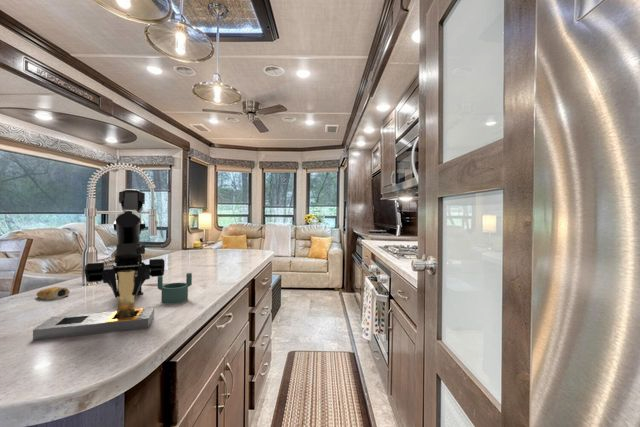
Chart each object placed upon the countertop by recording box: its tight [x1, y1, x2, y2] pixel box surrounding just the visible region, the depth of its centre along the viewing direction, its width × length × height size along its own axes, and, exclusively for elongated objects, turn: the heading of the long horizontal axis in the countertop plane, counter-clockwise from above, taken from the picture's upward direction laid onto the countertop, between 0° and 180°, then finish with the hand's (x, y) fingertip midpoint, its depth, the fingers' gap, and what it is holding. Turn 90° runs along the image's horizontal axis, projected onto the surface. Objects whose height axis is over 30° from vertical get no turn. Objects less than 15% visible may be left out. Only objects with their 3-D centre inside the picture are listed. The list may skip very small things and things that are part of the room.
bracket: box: [157, 272, 193, 305], centre depth 103 cm, size 9×9×9 cm
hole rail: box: [32, 307, 155, 341], centre depth 78 cm, size 24×9×3 cm, turn 111°
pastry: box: [36, 286, 71, 301], centre depth 104 cm, size 9×7×4 cm
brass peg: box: [116, 270, 136, 319], centre depth 81 cm, size 4×4×13 cm
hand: (125, 295), depth 79 cm, fingers closed on brass peg, 4 cm apart
